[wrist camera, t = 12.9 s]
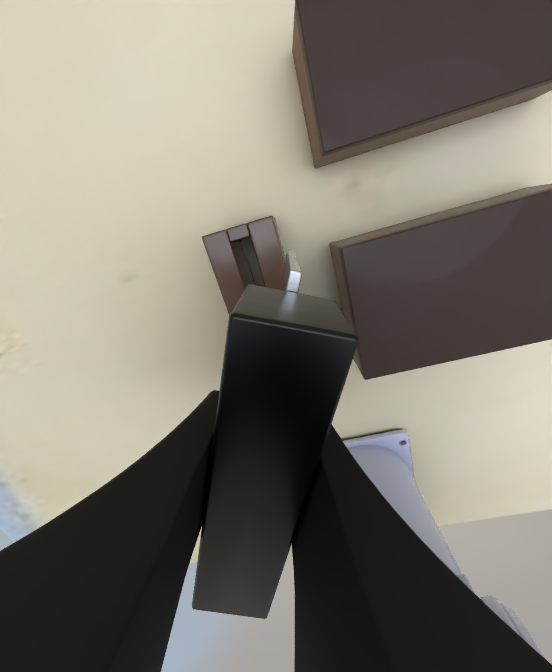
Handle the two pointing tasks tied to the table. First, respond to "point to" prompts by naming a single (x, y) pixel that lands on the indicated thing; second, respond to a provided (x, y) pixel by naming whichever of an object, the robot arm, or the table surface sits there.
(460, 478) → the table surface
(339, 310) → the bench scraper
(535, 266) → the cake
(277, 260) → the knife block
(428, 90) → the brown rectangular block
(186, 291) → the table surface
